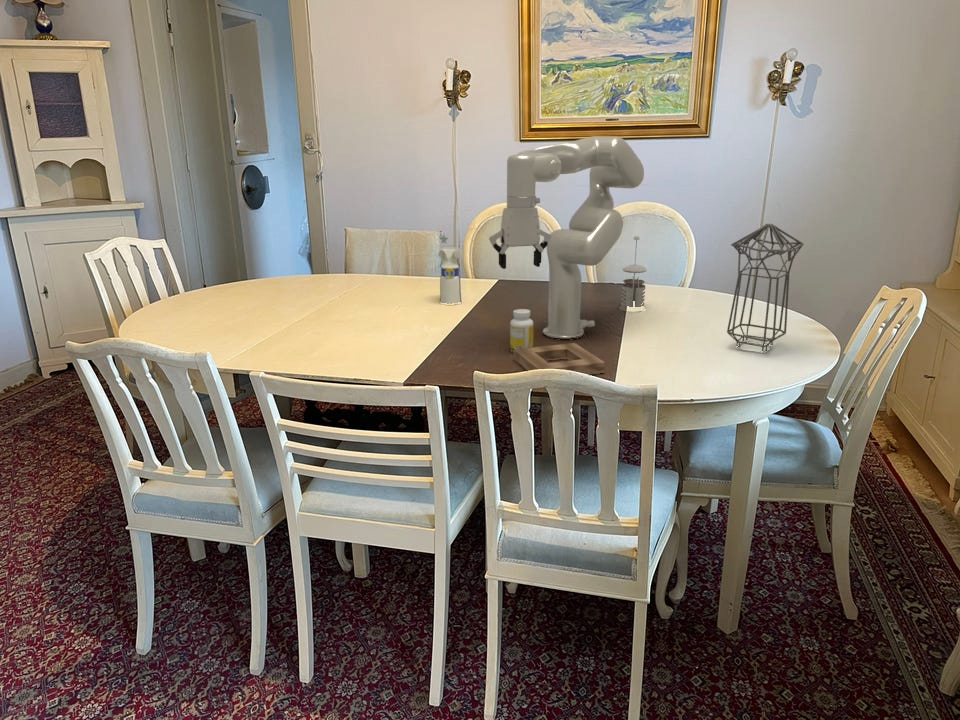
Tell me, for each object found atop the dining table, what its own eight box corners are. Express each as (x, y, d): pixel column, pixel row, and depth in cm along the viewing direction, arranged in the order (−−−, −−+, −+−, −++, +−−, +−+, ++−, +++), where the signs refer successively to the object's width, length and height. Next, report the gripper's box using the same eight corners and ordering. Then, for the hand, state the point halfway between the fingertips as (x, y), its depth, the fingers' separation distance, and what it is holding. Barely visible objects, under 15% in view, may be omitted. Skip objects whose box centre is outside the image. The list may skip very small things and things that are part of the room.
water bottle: (462, 305, 253) (461, 234, 245) (438, 305, 253) (436, 234, 245) (463, 300, 261) (462, 230, 253) (440, 300, 261) (438, 231, 253)
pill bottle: (531, 347, 206) (532, 307, 202) (534, 354, 200) (534, 313, 196) (509, 347, 206) (509, 308, 202) (510, 354, 200) (511, 314, 196)
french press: (645, 305, 251) (649, 233, 244) (649, 314, 240) (654, 239, 233) (616, 305, 252) (620, 233, 244) (619, 313, 241) (623, 238, 233)
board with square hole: (574, 353, 200) (574, 342, 199) (604, 373, 184) (604, 362, 183) (513, 360, 195) (513, 349, 194) (539, 381, 179) (539, 370, 178)
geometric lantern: (737, 337, 214) (750, 218, 203) (792, 347, 204) (809, 223, 193) (716, 349, 202) (729, 224, 191) (773, 360, 193) (790, 229, 182)
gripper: (546, 200, 196) (544, 262, 201) (485, 202, 191) (485, 266, 197) (556, 203, 189) (554, 267, 194) (493, 205, 184) (493, 271, 190)
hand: (519, 267), depth 196 cm, fingers open, 9 cm apart
